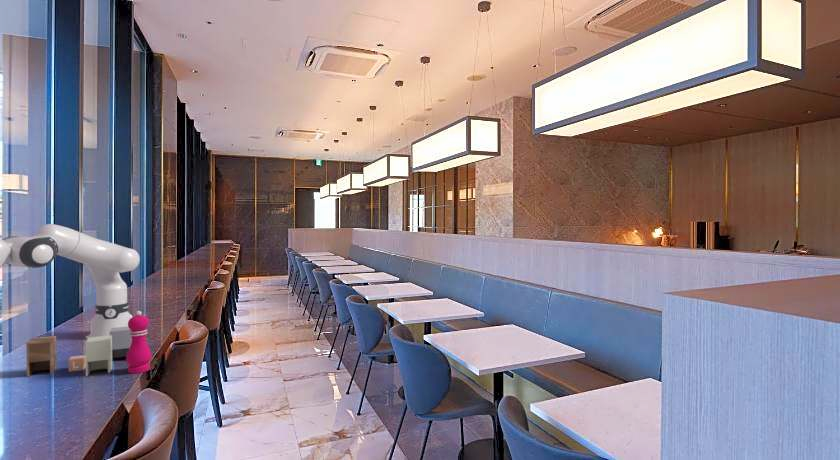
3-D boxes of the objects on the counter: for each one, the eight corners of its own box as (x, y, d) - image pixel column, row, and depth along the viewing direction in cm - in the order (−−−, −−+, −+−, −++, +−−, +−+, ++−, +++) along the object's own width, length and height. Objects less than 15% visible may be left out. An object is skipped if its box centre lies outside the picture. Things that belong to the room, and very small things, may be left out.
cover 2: (112, 357, 165) (111, 327, 165) (132, 355, 168) (132, 326, 168) (109, 362, 159) (109, 331, 159) (131, 360, 162) (130, 329, 162)
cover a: (32, 371, 150) (31, 338, 150) (56, 368, 153) (56, 335, 153) (26, 376, 145) (26, 342, 144) (52, 373, 148) (51, 340, 147)
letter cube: (71, 368, 153) (71, 356, 153) (85, 366, 155) (85, 355, 155) (68, 371, 150) (68, 359, 150) (83, 370, 152) (83, 358, 152)
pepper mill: (133, 367, 154) (133, 309, 154) (155, 366, 155) (155, 308, 154) (121, 374, 147) (120, 313, 146) (144, 373, 147) (144, 312, 147)
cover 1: (89, 370, 151) (88, 337, 151) (112, 367, 154) (111, 335, 154) (85, 376, 145) (85, 342, 145) (109, 372, 148) (109, 339, 148)
